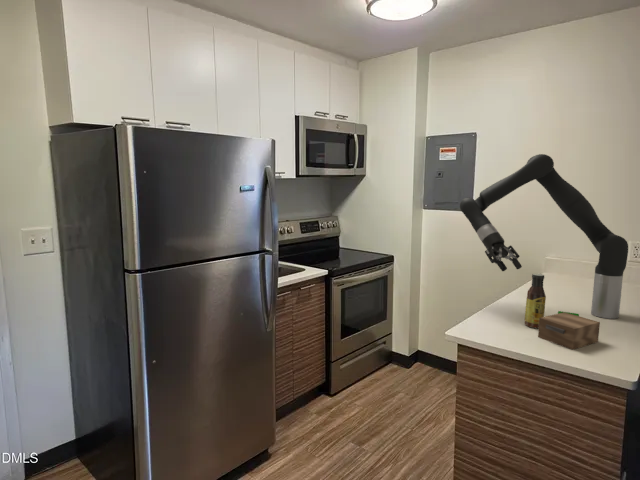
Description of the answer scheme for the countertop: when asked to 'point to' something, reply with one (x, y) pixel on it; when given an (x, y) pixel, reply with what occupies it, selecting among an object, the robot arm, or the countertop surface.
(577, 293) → the countertop surface
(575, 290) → the countertop surface
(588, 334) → the walnut box
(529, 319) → the sauce bottle
